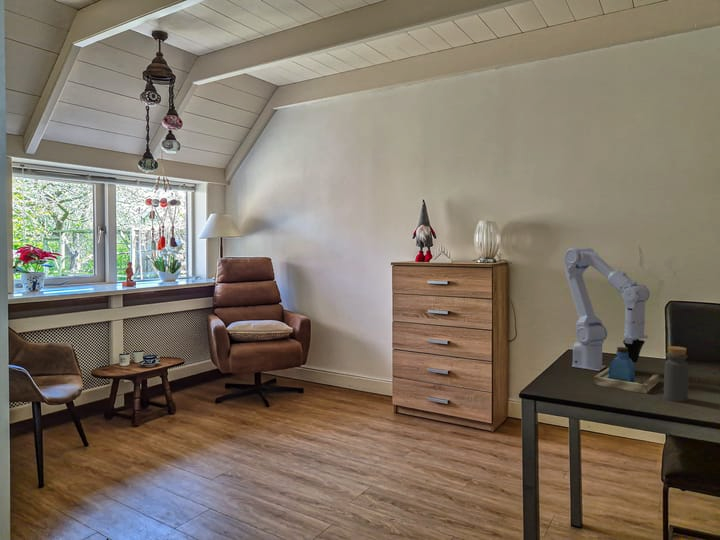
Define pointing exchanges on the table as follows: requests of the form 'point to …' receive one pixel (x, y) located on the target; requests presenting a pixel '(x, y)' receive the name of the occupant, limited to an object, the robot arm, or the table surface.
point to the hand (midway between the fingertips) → (633, 361)
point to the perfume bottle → (622, 366)
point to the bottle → (676, 375)
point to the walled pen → (638, 386)
